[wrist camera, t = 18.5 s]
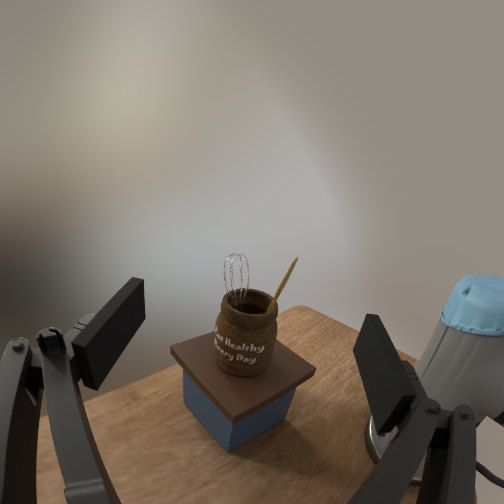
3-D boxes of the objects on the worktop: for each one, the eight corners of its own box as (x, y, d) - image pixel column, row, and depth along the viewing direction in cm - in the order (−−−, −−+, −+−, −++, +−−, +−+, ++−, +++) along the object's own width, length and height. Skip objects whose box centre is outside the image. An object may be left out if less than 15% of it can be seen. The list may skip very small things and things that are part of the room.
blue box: (296, 418, 32) (316, 368, 28) (226, 462, 25) (234, 417, 21) (240, 370, 39) (249, 318, 36) (172, 399, 32) (170, 345, 29)
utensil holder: (227, 334, 32) (240, 233, 28) (280, 352, 30) (303, 249, 26) (201, 364, 27) (209, 250, 23) (261, 387, 25) (287, 272, 21)
